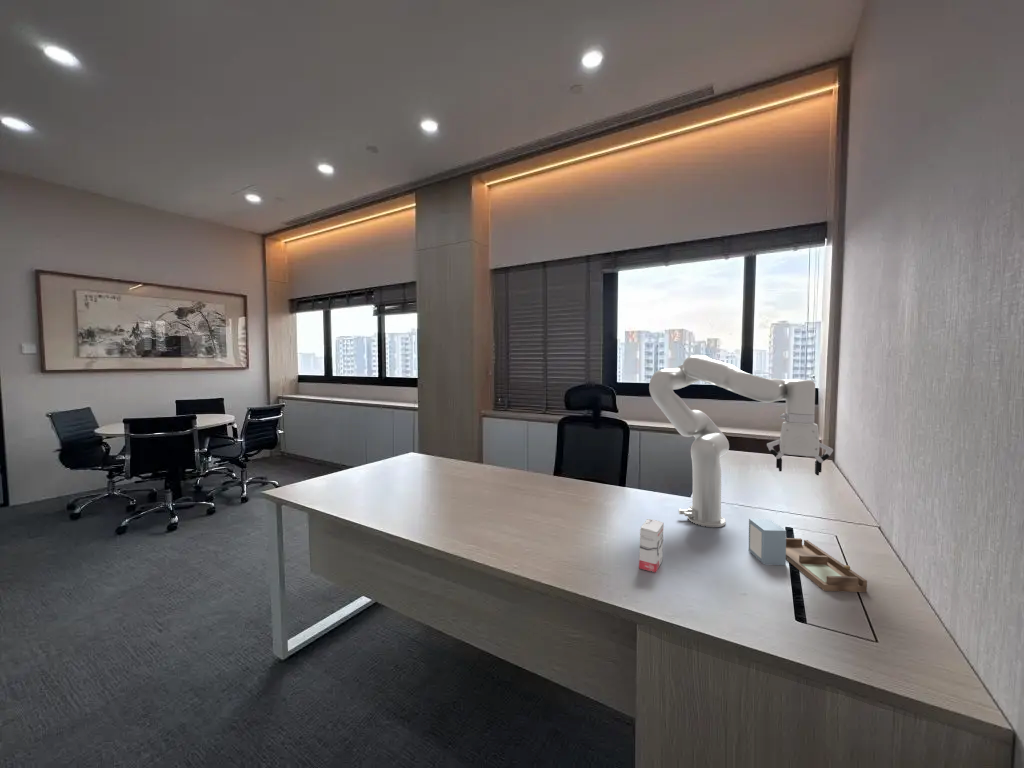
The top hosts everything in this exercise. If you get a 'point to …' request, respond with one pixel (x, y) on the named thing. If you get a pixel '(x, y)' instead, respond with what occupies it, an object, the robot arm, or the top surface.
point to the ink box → (651, 545)
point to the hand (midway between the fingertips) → (798, 472)
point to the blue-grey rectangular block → (767, 541)
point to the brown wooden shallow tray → (823, 567)
